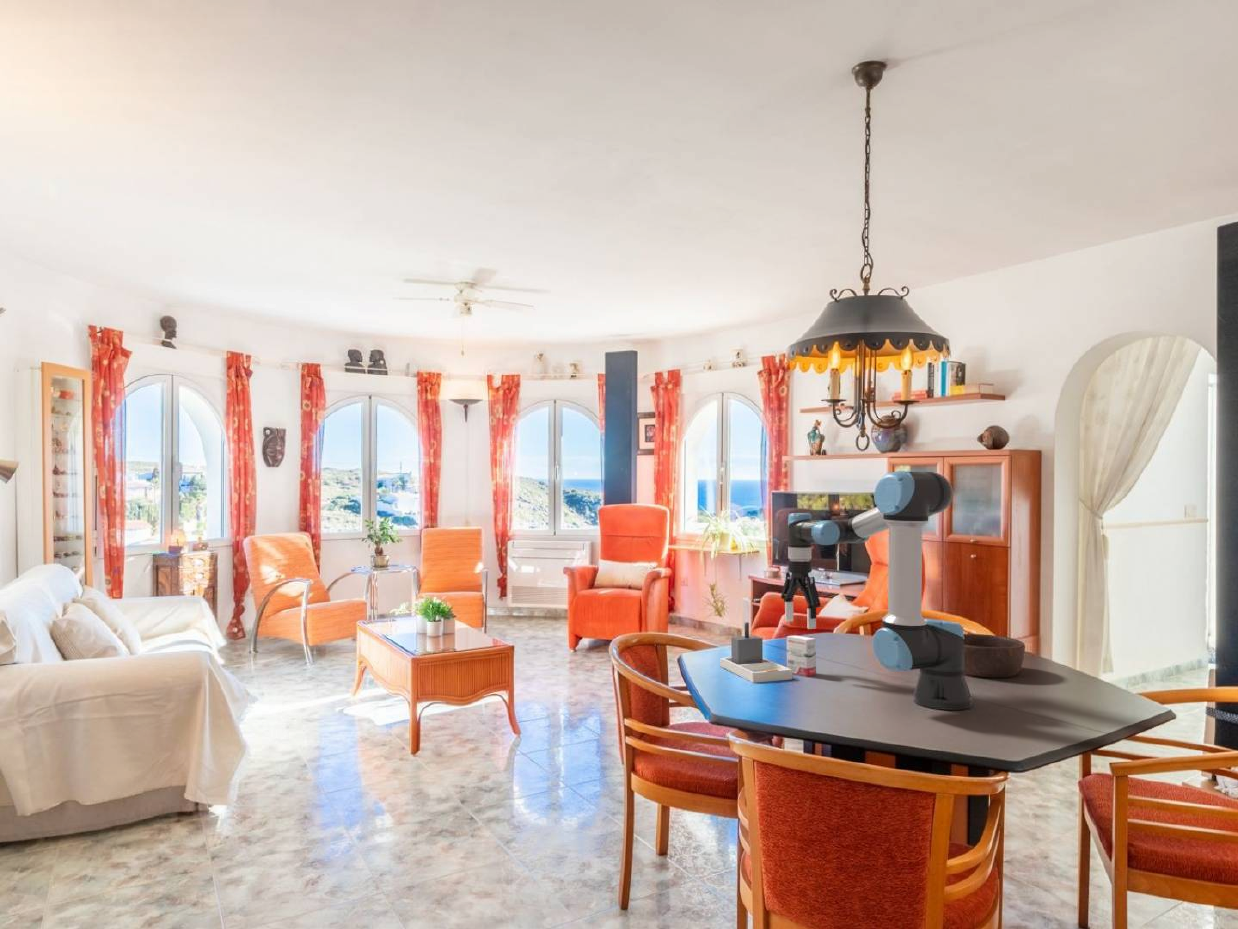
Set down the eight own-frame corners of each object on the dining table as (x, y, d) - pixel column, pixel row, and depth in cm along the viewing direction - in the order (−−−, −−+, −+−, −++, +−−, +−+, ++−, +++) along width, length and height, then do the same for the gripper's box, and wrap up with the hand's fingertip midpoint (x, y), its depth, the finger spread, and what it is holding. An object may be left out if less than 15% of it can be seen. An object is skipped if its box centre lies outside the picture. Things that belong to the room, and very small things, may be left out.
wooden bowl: (1040, 674, 249) (1040, 642, 250) (998, 684, 235) (998, 651, 236) (968, 660, 270) (968, 631, 270) (926, 669, 256) (925, 638, 256)
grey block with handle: (762, 668, 256) (762, 623, 256) (738, 670, 253) (738, 624, 253) (755, 665, 260) (755, 620, 261) (731, 667, 258) (731, 622, 258)
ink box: (816, 674, 249) (816, 638, 249) (807, 677, 246) (806, 640, 246) (795, 670, 255) (795, 634, 256) (786, 672, 252) (785, 636, 253)
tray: (792, 679, 243) (792, 668, 243) (752, 682, 238) (752, 672, 238) (757, 664, 264) (756, 654, 265) (720, 667, 260) (720, 657, 260)
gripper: (831, 563, 241) (832, 631, 241) (790, 556, 265) (790, 618, 264) (810, 564, 239) (811, 632, 238) (770, 557, 263) (770, 619, 262)
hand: (800, 625), depth 251 cm, fingers open, 13 cm apart
